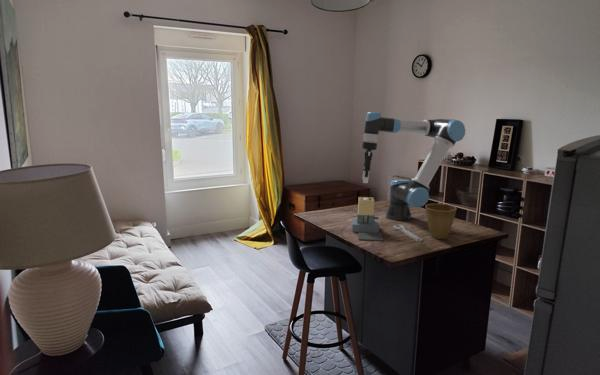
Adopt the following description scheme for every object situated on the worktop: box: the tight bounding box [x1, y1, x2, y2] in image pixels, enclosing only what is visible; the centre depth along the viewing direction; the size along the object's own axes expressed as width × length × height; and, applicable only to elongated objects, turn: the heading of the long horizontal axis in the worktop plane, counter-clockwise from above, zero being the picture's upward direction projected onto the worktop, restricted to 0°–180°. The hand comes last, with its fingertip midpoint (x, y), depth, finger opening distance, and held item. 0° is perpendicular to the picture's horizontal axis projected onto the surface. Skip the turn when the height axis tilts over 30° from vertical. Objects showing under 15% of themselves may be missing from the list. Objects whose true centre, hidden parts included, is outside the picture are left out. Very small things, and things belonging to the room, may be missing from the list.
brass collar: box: [357, 196, 376, 216], centre depth 208 cm, size 8×8×8 cm
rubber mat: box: [357, 232, 385, 242], centre depth 198 cm, size 12×11×1 cm
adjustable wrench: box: [392, 224, 423, 243], centre depth 204 cm, size 25×6×2 cm, turn 10°
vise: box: [351, 198, 380, 233], centre depth 209 cm, size 14×11×17 cm
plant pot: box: [425, 203, 458, 240], centre depth 198 cm, size 15×15×16 cm
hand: (364, 181), depth 208 cm, fingers open, 13 cm apart
